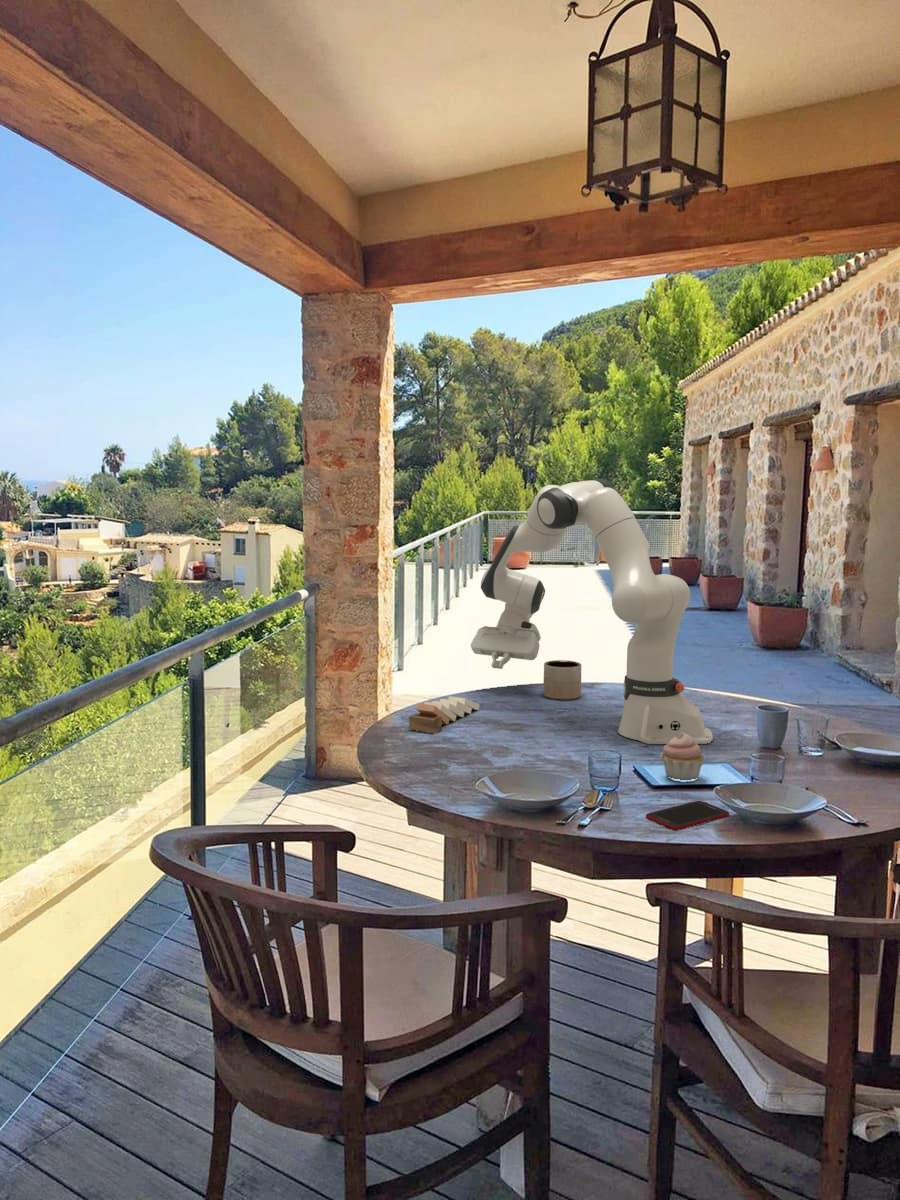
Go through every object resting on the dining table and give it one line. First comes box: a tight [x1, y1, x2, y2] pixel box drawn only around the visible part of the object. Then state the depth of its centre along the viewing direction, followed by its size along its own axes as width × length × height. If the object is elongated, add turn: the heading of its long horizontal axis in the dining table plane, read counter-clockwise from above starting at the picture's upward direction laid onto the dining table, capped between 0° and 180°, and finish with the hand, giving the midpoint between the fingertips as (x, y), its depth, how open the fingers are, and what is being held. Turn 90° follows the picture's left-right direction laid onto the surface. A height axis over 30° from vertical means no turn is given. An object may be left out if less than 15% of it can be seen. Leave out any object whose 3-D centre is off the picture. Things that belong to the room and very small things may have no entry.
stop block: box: [408, 712, 443, 735], centre depth 223 cm, size 4×7×4 cm, turn 61°
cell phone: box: [645, 800, 730, 831], centre depth 166 cm, size 8×15×1 cm, turn 122°
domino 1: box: [415, 702, 450, 726], centre depth 226 cm, size 2×5×9 cm
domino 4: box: [439, 698, 473, 715], centre depth 236 cm, size 2×5×9 cm
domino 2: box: [423, 701, 457, 722], centre depth 229 cm, size 2×5×9 cm
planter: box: [542, 659, 582, 701], centre depth 259 cm, size 11×11×10 cm
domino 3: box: [431, 700, 465, 718], centre depth 233 cm, size 2×5×9 cm
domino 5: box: [447, 695, 481, 711], centre depth 240 cm, size 2×5×9 cm
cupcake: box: [659, 732, 706, 780], centre depth 187 cm, size 9×9×10 cm
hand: (496, 667), depth 257 cm, fingers closed
